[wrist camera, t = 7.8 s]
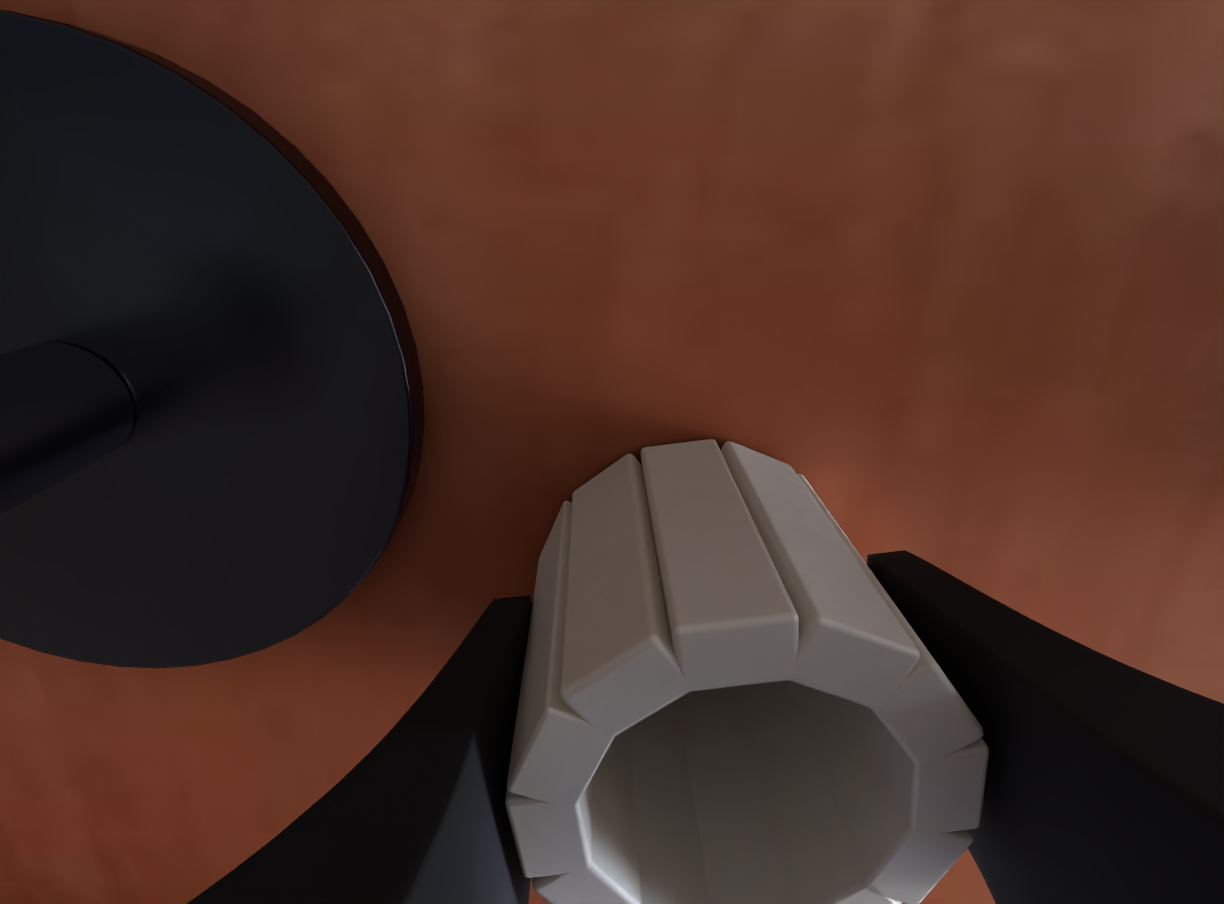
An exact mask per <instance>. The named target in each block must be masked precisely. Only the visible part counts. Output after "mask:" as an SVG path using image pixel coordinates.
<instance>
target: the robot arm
mask: <svg viewBox="0 0 1224 904" xmlns="http://www.w3.org/2000/svg"><path fill="white" fill-rule="evenodd" d="M867 566H868V567H869V568H870V570H871V571H872V573H873V574H874V575H875V577H876V578H877V580H878V581H879V583H880V584H881V585H882V587H883V588H884V590H885V591H886V592H887V594H888V595H889V597H890V598H891V599H892V601H893V602H894V604H895V605H896V606H897V608H898V609H899V611H900V612H901V613H902V615H903V616H904V618H905V619H906V620H907V622H908V623H909V625H910V626H911V627H912V629H913V630H914V632H915V633H916V634H917V636H918V637H919V639H920V640H921V641H922V643H923V644H924V646H925V647H926V648H927V650H928V651H929V653H930V654H931V655H932V657H933V658H934V660H935V661H936V663H937V664H938V665H939V667H940V668H941V670H942V671H943V672H944V674H945V675H946V677H947V678H948V680H949V681H950V682H951V684H952V685H953V687H954V688H955V689H956V691H957V692H958V694H959V695H960V697H961V698H962V699H963V701H964V702H965V704H966V705H967V706H968V708H969V709H970V711H971V712H972V714H973V715H974V716H975V718H976V719H977V721H978V722H979V723H980V725H981V726H982V729H983V735H984V736H983V737H982V739H983V740H984V742H985V743H986V745H987V747H988V749H989V758H988V766H987V774H986V782H985V789H984V797H983V805H982V813H981V821H980V826H979V827H978V828H976V829H970V830H969V832H970V833H971V835H972V837H973V843H972V844H971V845H970V846H969V847H968V849H969V851H970V853H971V854H972V856H973V858H974V860H975V862H976V864H977V866H978V867H979V869H980V871H981V873H982V875H983V877H984V879H985V881H986V884H987V886H988V888H989V890H990V892H991V894H992V896H993V898H994V901H995V903H996V904H1224V704H1223V703H1220V702H1217V701H1215V700H1212V699H1209V698H1207V697H1204V696H1201V695H1199V694H1196V693H1193V692H1191V691H1188V690H1186V689H1183V688H1181V687H1178V686H1176V685H1173V684H1171V683H1169V682H1166V681H1164V680H1161V679H1159V678H1157V677H1154V676H1152V675H1149V674H1147V673H1144V672H1142V671H1140V670H1137V669H1135V668H1132V667H1130V666H1128V665H1125V664H1123V663H1121V662H1119V661H1116V660H1114V659H1112V658H1110V657H1107V656H1105V655H1103V654H1101V653H1099V652H1096V651H1094V650H1092V649H1090V648H1088V647H1086V646H1084V645H1082V644H1080V643H1078V642H1076V641H1074V640H1072V639H1070V638H1068V637H1066V636H1063V635H1061V634H1059V633H1057V632H1055V631H1053V630H1051V629H1049V628H1047V627H1045V626H1043V625H1041V624H1040V623H1038V622H1036V621H1034V620H1032V619H1030V618H1028V617H1026V616H1024V615H1022V614H1020V613H1019V612H1017V611H1015V610H1013V609H1011V608H1009V607H1007V606H1006V605H1004V604H1002V603H1000V602H998V601H996V600H995V599H993V598H991V597H989V596H987V595H986V594H984V593H982V592H980V591H978V590H977V589H975V588H973V587H971V586H970V585H968V584H966V583H964V582H962V581H961V580H959V579H957V578H955V577H954V576H952V575H950V574H948V573H947V572H945V571H943V570H941V569H939V568H938V567H936V566H934V565H932V564H930V563H929V562H927V561H925V560H923V559H921V558H919V557H917V556H915V555H913V554H911V553H909V552H907V551H905V550H903V551H895V552H887V553H878V554H870V555H867ZM531 611H532V602H531V597H530V595H527V596H518V597H510V598H502V599H494V600H493V601H492V603H491V604H490V605H489V606H488V608H487V609H486V610H485V612H484V613H483V614H482V616H481V617H480V618H479V620H478V621H477V623H476V624H475V625H474V627H473V628H472V629H471V631H470V632H469V634H468V635H467V636H466V638H465V639H464V640H463V642H462V643H461V645H460V646H459V647H458V649H457V650H456V651H455V653H454V654H453V655H452V657H451V658H450V659H449V661H448V662H447V663H446V664H445V666H444V667H443V668H442V670H441V671H440V672H439V673H438V675H437V676H436V677H435V679H434V680H433V681H432V682H431V684H430V685H429V686H428V687H427V689H426V690H425V691H424V692H423V694H422V695H421V696H420V697H419V698H418V699H417V701H416V702H415V703H414V704H413V705H412V706H411V707H410V709H409V710H408V711H407V712H406V713H405V714H404V716H403V717H402V718H401V719H400V720H399V721H398V723H397V724H396V725H395V726H394V727H393V728H392V729H391V731H390V732H389V733H388V734H387V735H386V736H385V737H384V738H383V739H382V740H381V741H380V742H379V743H378V744H377V745H376V746H375V748H374V749H373V750H372V751H371V752H370V753H369V754H368V755H367V756H366V757H364V758H363V759H362V760H361V761H360V762H359V763H358V764H357V765H356V766H355V767H354V768H353V769H352V770H351V771H350V772H349V773H348V774H347V775H346V776H345V777H344V778H343V779H342V780H341V781H340V782H339V783H337V784H336V785H335V786H334V787H333V788H332V789H331V790H330V791H329V792H327V793H326V794H325V795H324V796H323V797H322V798H320V799H319V800H318V801H317V802H316V803H315V804H313V805H312V806H311V807H310V808H309V809H308V810H306V811H305V812H304V813H303V814H302V815H301V816H299V817H298V818H297V819H296V820H295V821H294V822H292V823H291V824H290V825H289V826H288V827H287V828H285V829H284V830H283V831H282V832H281V833H280V834H278V835H277V836H276V837H275V838H274V839H272V840H271V841H270V842H269V843H267V844H266V845H265V846H264V847H262V848H261V849H260V850H258V851H257V852H256V853H255V854H253V855H252V856H251V857H249V858H248V859H247V860H246V861H244V862H243V863H242V864H240V865H239V866H238V867H236V868H235V869H234V870H233V871H231V872H230V873H228V874H227V875H226V876H224V877H223V878H222V879H220V880H219V881H218V882H216V883H215V884H213V885H212V886H211V887H209V888H208V889H207V890H205V891H204V892H203V893H201V894H200V895H198V896H197V897H196V898H194V899H193V900H191V901H190V902H189V903H187V904H528V900H529V890H530V882H531V878H527V877H525V876H524V875H523V872H522V868H521V864H520V860H519V856H518V852H517V848H516V844H515V840H514V836H513V832H512V828H511V824H510V821H509V817H508V813H507V809H506V805H505V800H506V793H507V779H508V772H509V765H510V758H511V751H512V744H513V737H514V730H515V723H516V716H517V709H518V702H519V695H520V688H521V681H522V674H523V667H524V660H525V653H526V646H527V639H528V632H529V625H530V618H531Z"/></svg>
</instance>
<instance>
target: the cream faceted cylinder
mask: <svg viewBox="0 0 1224 904" xmlns="http://www.w3.org/2000/svg"><path fill="white" fill-rule="evenodd" d="M640 454H641V462H642V465H641V464H640V463H639V461H638V460H637V459H636V458H635V456H634V455H632V454H627V455H625V456H624V457H622V458H621V459H619V460H618V461H616V462H615V463H614V464H612V465H611V466H609V467H608V468H606V469H605V470H604V471H602V472H601V473H599V474H598V475H597V476H595V477H594V478H592V479H591V480H589V481H588V482H587V483H585V484H584V485H582V486H581V487H579V488H578V489H577V490H575V491H574V493H573V494H572V502H569V501H565V502H563V504H562V507H561V509H560V511H559V513H558V516H557V518H556V520H555V523H554V525H553V527H552V529H551V532H550V534H549V536H548V538H547V541H546V543H545V545H544V547H543V550H542V552H541V554H540V557H539V562H538V569H537V576H536V583H535V590H534V597H533V604H532V611H531V618H530V625H529V632H528V639H527V646H526V653H525V660H524V667H523V674H522V681H521V688H520V695H519V702H518V709H517V716H516V723H515V730H514V737H513V744H512V751H511V758H510V765H509V772H508V779H507V793H506V800H505V805H506V809H507V813H508V817H509V821H510V824H511V828H512V832H513V836H514V840H515V844H516V848H517V852H518V856H519V860H520V864H521V868H522V872H523V875H524V876H525V877H527V878H532V877H533V881H532V884H533V888H534V890H535V891H536V892H537V893H538V894H540V895H541V896H542V897H543V898H545V899H546V900H547V901H548V902H549V903H551V904H901V902H903V903H907V904H919V903H920V902H921V901H922V900H923V899H924V897H925V896H926V895H927V894H928V893H929V892H930V891H931V889H932V888H933V887H934V886H935V885H936V884H937V883H938V881H939V880H940V879H941V878H942V877H943V876H944V875H945V873H946V872H947V871H948V870H949V869H950V868H951V867H952V865H953V864H954V863H955V862H956V861H957V860H958V859H959V857H960V856H961V855H962V854H963V853H964V852H965V851H966V849H967V848H968V847H969V846H970V845H971V844H972V843H973V837H972V835H971V833H970V832H969V830H970V829H976V828H978V827H979V826H980V821H981V813H982V805H983V797H984V789H985V782H986V774H987V766H988V758H989V749H988V747H987V745H986V743H985V742H984V740H983V739H982V737H983V736H984V735H983V729H982V726H981V725H980V723H979V722H978V721H977V719H976V718H975V716H974V715H973V714H972V712H971V711H970V709H969V708H968V706H967V705H966V704H965V702H964V701H963V699H962V698H961V697H960V695H959V694H958V692H957V691H956V689H955V688H954V687H953V685H952V684H951V682H950V681H949V680H948V678H947V677H946V675H945V674H944V672H943V671H942V670H941V668H940V667H939V665H938V664H937V663H936V661H935V660H934V658H933V657H932V655H931V654H930V653H929V651H928V650H927V648H926V647H925V646H924V644H923V643H922V641H921V640H920V639H919V637H918V636H917V634H916V633H915V632H914V630H913V629H912V627H911V626H910V625H909V623H908V622H907V620H906V619H905V618H904V616H903V615H902V613H901V612H900V611H899V609H898V608H897V606H896V605H895V604H894V602H893V601H892V599H891V598H890V597H889V595H888V594H887V592H886V591H885V590H884V588H883V587H882V585H881V584H880V583H879V581H878V580H877V578H876V577H875V575H874V574H873V573H872V571H871V570H870V568H869V567H868V566H867V564H866V563H865V561H864V560H863V559H862V557H861V556H860V554H859V553H858V552H857V550H856V549H855V547H854V546H853V545H852V543H851V542H850V540H849V539H848V538H847V536H846V535H845V533H844V532H843V531H842V529H841V528H840V526H839V525H838V524H837V522H836V521H835V519H834V518H833V517H832V515H831V514H830V512H829V511H828V510H827V508H826V507H825V505H824V504H823V502H822V501H821V500H820V498H819V497H818V495H817V494H816V493H815V491H814V490H813V488H812V487H811V486H810V484H809V483H808V481H807V480H806V479H805V477H804V476H803V475H801V474H796V473H795V471H794V470H793V468H792V467H791V466H790V465H789V464H786V463H784V462H781V461H779V460H776V459H774V458H771V457H769V456H766V455H764V454H761V453H759V452H756V451H754V450H751V449H749V448H746V447H744V446H741V445H739V444H736V443H734V442H731V441H726V442H725V443H724V445H723V447H722V449H721V451H720V449H719V447H718V444H717V442H716V441H715V440H714V439H707V440H699V441H691V442H683V443H675V444H667V445H659V446H651V447H644V448H642V449H641V452H640Z"/></svg>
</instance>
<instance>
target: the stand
mask: <svg viewBox="0 0 1224 904" xmlns="http://www.w3.org/2000/svg"><path fill="white" fill-rule="evenodd" d="M423 432H424V402H423V384H422V378H421V372H420V367H419V361H418V355H417V349H416V345H415V342H414V338H413V335H412V332H411V329H410V325H409V322H408V319H407V316H406V312H405V309H404V306H403V304H402V301H401V299H400V297H399V295H398V293H397V290H396V288H395V286H394V284H393V281H392V279H391V277H390V275H389V272H388V270H387V268H386V266H385V264H384V262H383V260H382V259H381V257H380V255H379V254H378V252H377V250H376V249H375V247H374V245H373V244H372V242H371V240H370V239H369V237H368V235H367V234H366V232H365V230H364V229H363V227H362V225H361V224H360V222H359V221H358V219H357V218H356V217H355V216H354V214H353V213H352V212H351V210H350V209H349V208H348V206H347V205H346V204H345V202H344V201H343V200H342V198H341V197H340V196H339V195H338V193H337V192H336V191H335V189H334V188H333V187H332V185H331V184H330V183H329V182H328V181H327V180H326V179H325V178H324V176H323V175H322V174H321V173H320V172H319V171H318V170H317V169H316V168H315V167H314V166H313V165H312V164H311V163H310V162H309V161H308V160H307V159H306V158H305V157H304V156H303V155H302V153H301V152H300V151H299V150H298V149H297V148H296V147H295V146H294V145H293V144H292V143H290V142H289V141H288V140H287V139H286V138H285V137H283V136H282V135H281V134H280V133H279V132H277V131H276V130H275V129H274V128H273V127H271V126H270V125H269V124H268V123H267V122H265V121H264V120H263V119H262V118H261V117H259V116H258V115H257V114H256V113H255V112H254V111H252V110H251V109H249V108H248V107H246V106H245V105H243V104H242V103H240V102H239V101H237V100H236V99H234V98H233V97H231V96H230V95H228V94H227V93H225V92H224V91H222V90H221V89H219V88H218V87H216V86H215V85H213V84H212V83H210V82H209V81H207V80H206V79H204V78H202V77H200V76H198V75H196V74H194V73H192V72H190V71H188V70H186V69H184V68H182V67H180V66H178V65H176V64H175V63H173V62H171V61H169V60H167V59H165V58H163V57H161V56H159V55H157V54H154V53H152V52H149V51H146V50H144V49H141V48H138V47H135V46H133V45H130V44H127V43H125V42H122V41H119V40H116V39H114V38H111V37H108V36H105V35H102V34H99V33H96V32H92V31H89V30H86V29H82V28H79V27H76V26H72V25H69V24H65V23H61V22H56V21H52V20H47V19H43V18H39V17H34V16H30V15H26V14H21V13H17V12H13V11H5V10H0V639H3V640H6V641H9V642H12V643H15V644H18V645H21V646H24V647H27V648H30V649H33V650H36V651H39V652H43V653H47V654H51V655H56V656H60V657H64V658H69V659H73V660H77V661H82V662H89V663H96V664H104V665H111V666H118V667H139V668H169V667H185V666H196V665H202V664H208V663H213V662H219V661H225V660H230V659H233V658H237V657H240V656H243V655H247V654H250V653H253V652H257V651H260V650H263V649H265V648H267V647H270V646H272V645H274V644H276V643H279V642H281V641H283V640H285V639H287V638H290V637H292V636H294V635H296V634H298V633H299V632H301V631H302V630H304V629H306V628H307V627H309V626H310V625H312V624H314V623H315V622H317V621H318V620H320V619H322V618H323V617H324V616H326V615H327V614H328V613H329V612H330V611H331V610H333V609H334V608H335V607H336V606H337V605H339V604H340V603H341V602H342V601H343V600H345V599H346V598H347V597H348V596H349V595H350V594H351V593H352V591H353V590H354V589H355V588H356V587H357V586H358V585H359V583H360V582H361V581H362V580H363V579H364V578H365V577H366V575H367V574H368V573H369V572H370V571H371V569H372V567H373V566H374V564H375V563H376V561H377V560H378V558H379V556H380V555H381V553H382V552H383V550H384V548H385V547H386V545H387V544H388V542H389V540H390V538H391V537H392V535H393V533H394V531H395V530H396V528H397V526H398V524H399V522H400V520H401V517H402V515H403V513H404V511H405V508H406V506H407V504H408V501H409V499H410V497H411V494H412V491H413V487H414V483H415V479H416V476H417V472H418V468H419V464H420V460H421V451H422V441H423Z"/></svg>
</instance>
